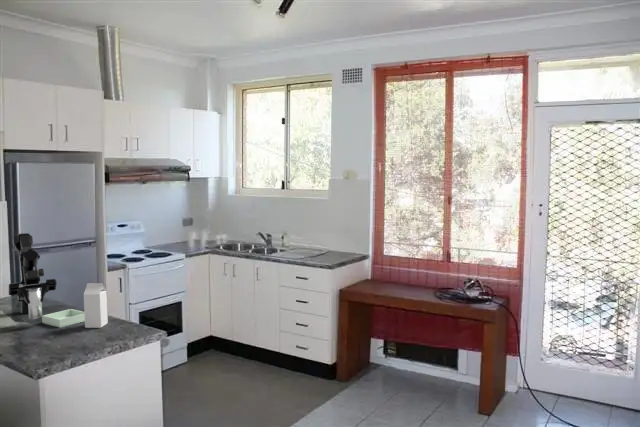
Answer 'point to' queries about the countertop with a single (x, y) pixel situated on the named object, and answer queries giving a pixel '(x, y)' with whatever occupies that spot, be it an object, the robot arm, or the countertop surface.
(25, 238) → the robot arm
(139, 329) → the countertop surface
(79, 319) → the tray
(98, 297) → the milk carton
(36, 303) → the steel canister
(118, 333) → the countertop surface
